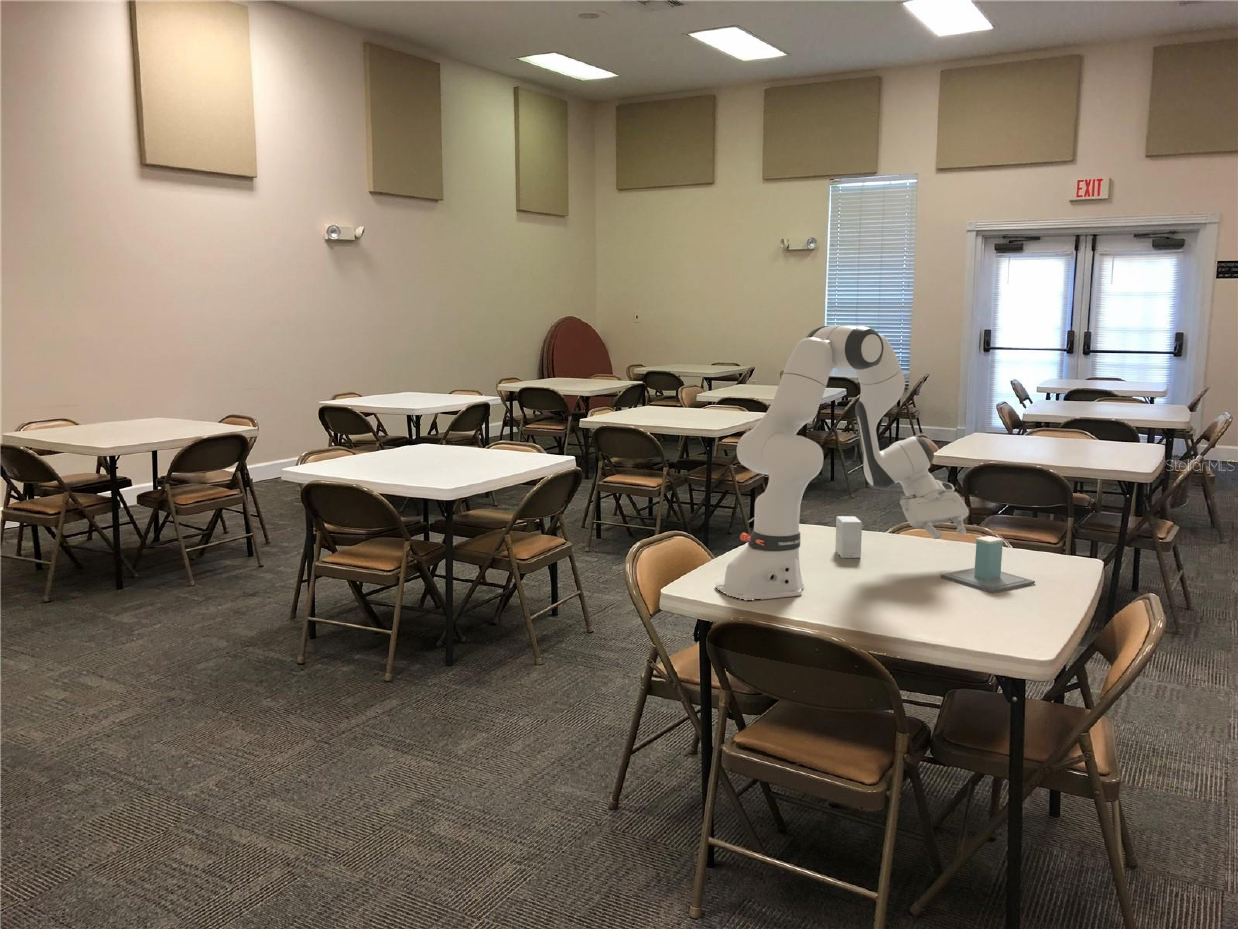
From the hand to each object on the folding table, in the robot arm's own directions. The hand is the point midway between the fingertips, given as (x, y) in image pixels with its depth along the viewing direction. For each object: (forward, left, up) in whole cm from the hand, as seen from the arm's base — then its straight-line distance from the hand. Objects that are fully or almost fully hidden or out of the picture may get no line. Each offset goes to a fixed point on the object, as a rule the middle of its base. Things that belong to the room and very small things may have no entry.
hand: (951, 535), depth 240 cm
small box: (-13, +25, -10) cm, 30 cm away
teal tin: (0, -12, -8) cm, 15 cm away
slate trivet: (0, -12, -9) cm, 15 cm away
